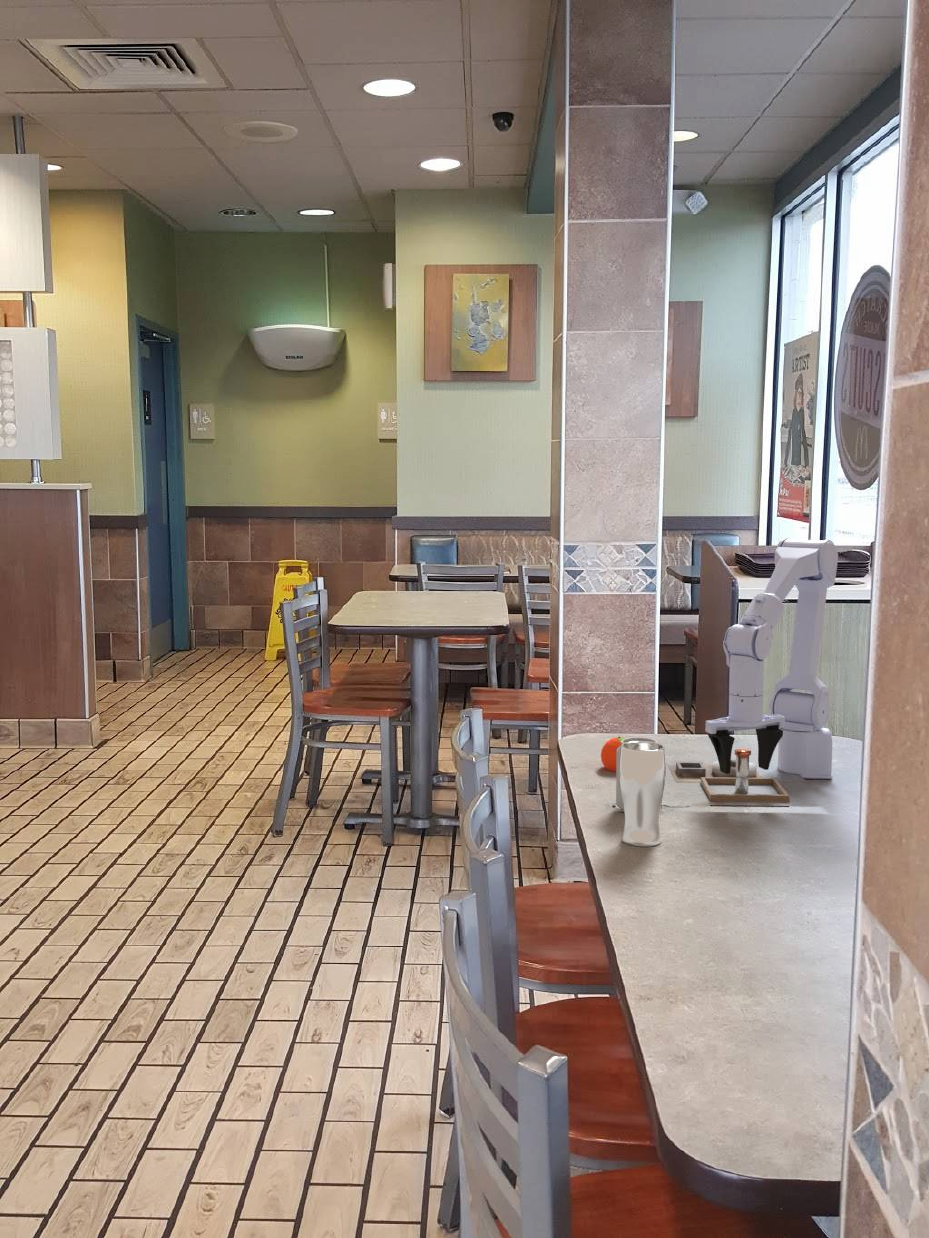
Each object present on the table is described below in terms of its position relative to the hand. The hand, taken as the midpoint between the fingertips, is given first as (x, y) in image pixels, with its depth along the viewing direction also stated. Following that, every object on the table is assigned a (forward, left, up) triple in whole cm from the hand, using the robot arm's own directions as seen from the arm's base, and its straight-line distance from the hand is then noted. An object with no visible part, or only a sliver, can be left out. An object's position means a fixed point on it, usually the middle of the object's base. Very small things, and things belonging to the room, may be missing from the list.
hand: (744, 770), depth 195 cm
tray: (0, 0, -5) cm, 5 cm away
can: (+19, +8, -5) cm, 21 cm away
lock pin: (0, 0, -4) cm, 4 cm away
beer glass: (+20, +24, -5) cm, 32 cm away
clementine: (+20, -15, -5) cm, 26 cm away
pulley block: (+3, -12, -5) cm, 13 cm away
